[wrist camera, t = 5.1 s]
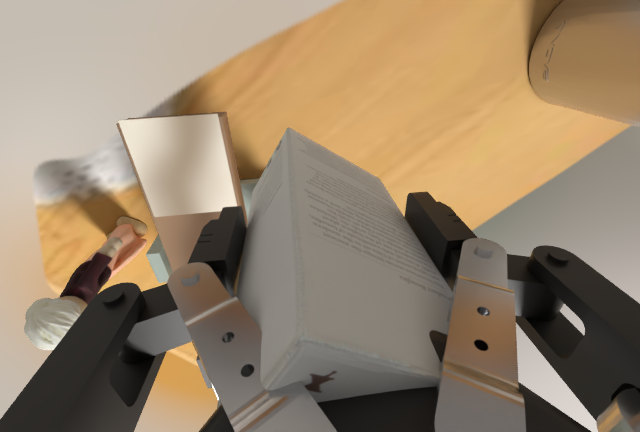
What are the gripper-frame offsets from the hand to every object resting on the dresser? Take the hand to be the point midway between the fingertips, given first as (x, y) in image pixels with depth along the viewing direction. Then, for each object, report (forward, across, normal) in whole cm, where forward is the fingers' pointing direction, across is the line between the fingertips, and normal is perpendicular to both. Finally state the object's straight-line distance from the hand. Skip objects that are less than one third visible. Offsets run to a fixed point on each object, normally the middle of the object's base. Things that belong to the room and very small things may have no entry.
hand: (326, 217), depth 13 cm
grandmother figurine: (+15, +18, +9) cm, 26 cm away
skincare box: (+4, 0, 0) cm, 4 cm away
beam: (+9, +8, +9) cm, 15 cm away
